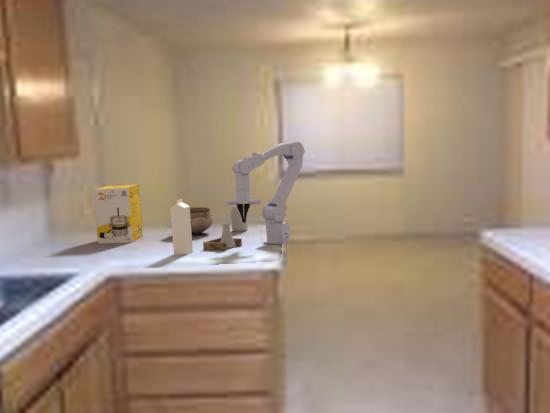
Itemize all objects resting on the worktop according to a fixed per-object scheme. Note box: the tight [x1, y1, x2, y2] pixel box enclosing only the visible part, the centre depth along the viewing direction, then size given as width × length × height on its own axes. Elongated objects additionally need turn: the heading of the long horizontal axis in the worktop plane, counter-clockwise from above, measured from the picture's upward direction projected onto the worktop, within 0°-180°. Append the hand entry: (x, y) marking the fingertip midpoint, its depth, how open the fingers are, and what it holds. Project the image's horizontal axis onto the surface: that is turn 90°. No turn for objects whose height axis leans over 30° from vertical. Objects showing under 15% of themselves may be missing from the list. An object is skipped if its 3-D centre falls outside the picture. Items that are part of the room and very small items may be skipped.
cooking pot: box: [190, 206, 214, 236], centre depth 336 cm, size 25×19×12 cm
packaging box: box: [93, 184, 144, 245], centre depth 330 cm, size 16×16×25 cm
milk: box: [170, 198, 194, 256], centre depth 285 cm, size 6×6×22 cm
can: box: [230, 205, 248, 233], centre depth 339 cm, size 8×8×12 cm
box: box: [202, 237, 243, 252], centre depth 295 cm, size 11×12×3 cm
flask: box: [220, 222, 237, 249], centre depth 295 cm, size 7×7×10 cm
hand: (244, 222), depth 291 cm, fingers closed
